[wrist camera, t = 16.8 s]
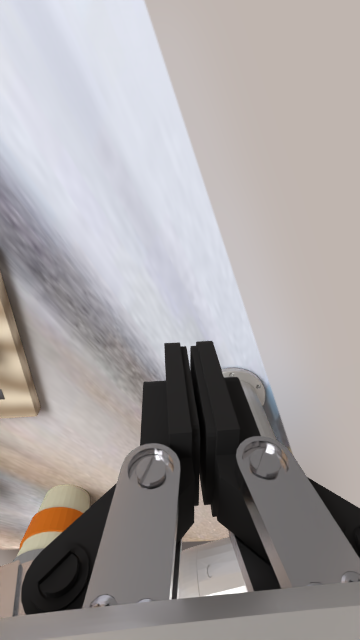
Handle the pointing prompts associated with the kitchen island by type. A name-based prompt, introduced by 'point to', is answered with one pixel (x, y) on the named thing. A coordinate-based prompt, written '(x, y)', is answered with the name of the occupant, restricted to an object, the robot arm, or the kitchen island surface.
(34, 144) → the kitchen island surface
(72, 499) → the reusable coffee cup
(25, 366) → the switch panel
